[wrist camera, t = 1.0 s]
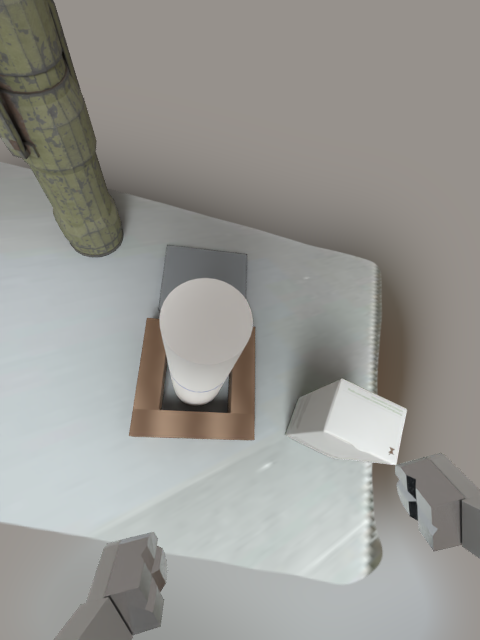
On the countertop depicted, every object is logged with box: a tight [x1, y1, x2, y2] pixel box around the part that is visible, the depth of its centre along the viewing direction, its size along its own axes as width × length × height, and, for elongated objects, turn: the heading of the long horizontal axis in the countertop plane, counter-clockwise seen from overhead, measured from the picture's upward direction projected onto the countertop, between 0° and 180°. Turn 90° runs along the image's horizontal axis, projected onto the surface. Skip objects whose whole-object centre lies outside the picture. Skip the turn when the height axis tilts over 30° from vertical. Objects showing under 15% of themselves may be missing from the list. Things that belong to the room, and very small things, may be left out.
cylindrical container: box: [159, 278, 253, 406], centre depth 35 cm, size 7×7×25 cm
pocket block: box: [129, 318, 255, 440], centre depth 45 cm, size 16×16×4 cm
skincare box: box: [285, 378, 407, 465], centre depth 40 cm, size 8×7×16 cm
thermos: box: [0, 0, 123, 257], centre depth 37 cm, size 9×12×35 cm
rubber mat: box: [158, 245, 247, 311], centre depth 53 cm, size 14×12×1 cm
